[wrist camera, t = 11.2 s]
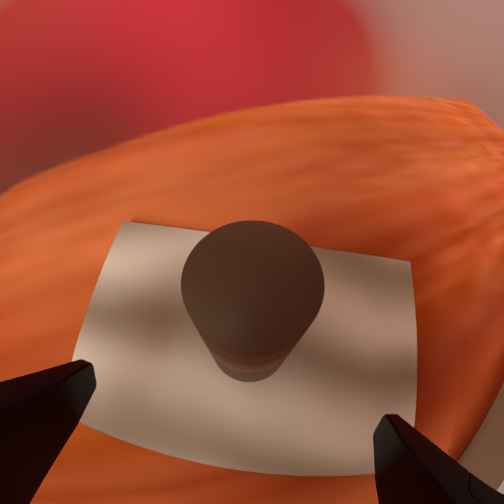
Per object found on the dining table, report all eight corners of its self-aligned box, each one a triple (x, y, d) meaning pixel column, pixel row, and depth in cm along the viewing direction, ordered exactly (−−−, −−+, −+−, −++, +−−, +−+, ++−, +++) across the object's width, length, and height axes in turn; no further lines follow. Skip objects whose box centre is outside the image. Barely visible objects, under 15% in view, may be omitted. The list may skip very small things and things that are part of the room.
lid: (398, 466, 11) (512, 481, 3) (71, 413, 12) (-45, 389, 4) (402, 270, 17) (474, 178, 10) (128, 231, 18) (79, 126, 11)
